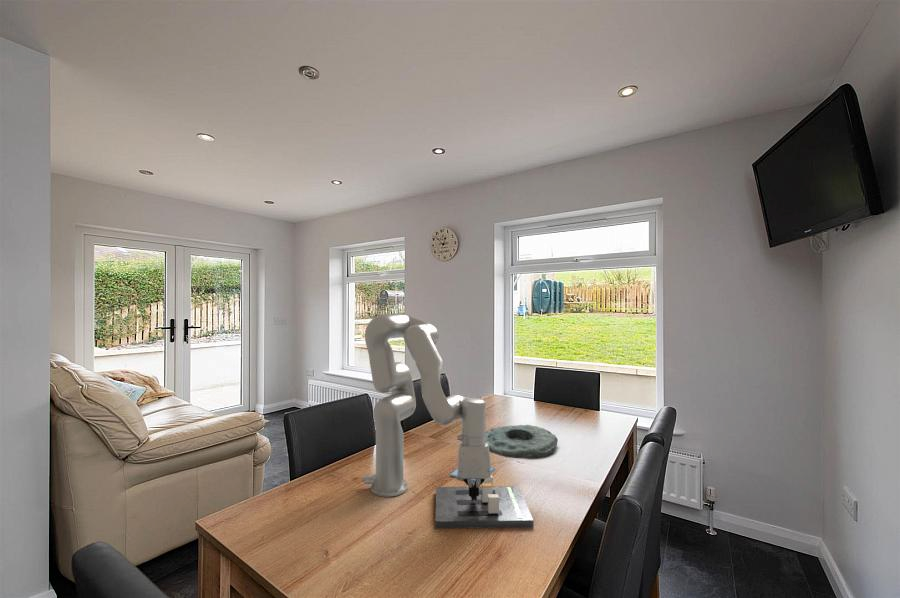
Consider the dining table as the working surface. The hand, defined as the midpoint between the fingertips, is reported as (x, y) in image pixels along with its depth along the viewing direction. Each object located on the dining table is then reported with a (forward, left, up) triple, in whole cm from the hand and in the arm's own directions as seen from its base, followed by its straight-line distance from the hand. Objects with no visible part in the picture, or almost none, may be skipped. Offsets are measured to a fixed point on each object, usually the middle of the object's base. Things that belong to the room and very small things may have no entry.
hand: (473, 498), depth 122 cm
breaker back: (+5, +7, -1) cm, 8 cm away
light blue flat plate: (+2, +26, -4) cm, 27 cm away
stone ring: (+26, +57, -4) cm, 63 cm away
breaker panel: (+2, 0, -3) cm, 4 cm away
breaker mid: (+4, 0, -1) cm, 4 cm away
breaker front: (+5, -6, -1) cm, 8 cm away
